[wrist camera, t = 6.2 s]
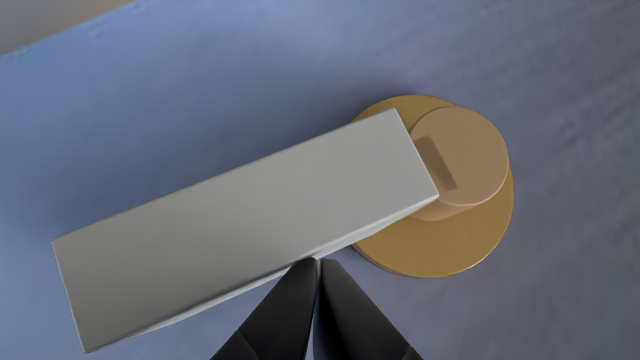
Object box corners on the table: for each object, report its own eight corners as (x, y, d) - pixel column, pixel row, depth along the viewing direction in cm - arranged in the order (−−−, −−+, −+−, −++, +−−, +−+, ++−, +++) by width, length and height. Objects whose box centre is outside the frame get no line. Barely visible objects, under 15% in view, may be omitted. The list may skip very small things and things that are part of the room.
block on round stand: (442, 125, 17) (544, 23, 10) (483, 200, 16) (621, 142, 10) (151, 245, 15) (39, 212, 8) (183, 338, 14) (90, 387, 7)
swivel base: (530, 165, 18) (544, 158, 17) (450, 316, 16) (460, 318, 15) (386, 73, 19) (391, 62, 18) (291, 208, 17) (291, 203, 16)
